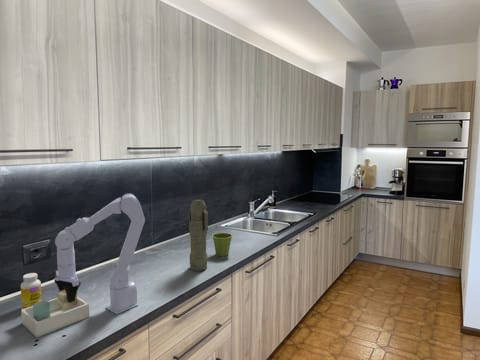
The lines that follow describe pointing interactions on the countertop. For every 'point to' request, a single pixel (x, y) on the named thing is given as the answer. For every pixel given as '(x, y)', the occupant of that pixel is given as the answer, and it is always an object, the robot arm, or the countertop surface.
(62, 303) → the beech cube
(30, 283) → the supplement bottle
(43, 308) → the teal cylinder
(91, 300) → the countertop surface
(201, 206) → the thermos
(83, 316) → the tote
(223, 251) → the plant pot
